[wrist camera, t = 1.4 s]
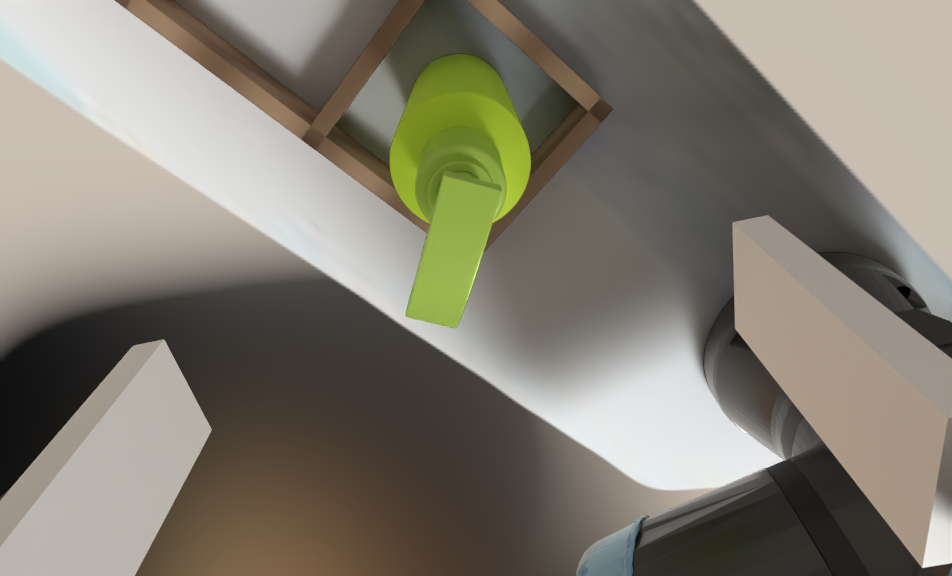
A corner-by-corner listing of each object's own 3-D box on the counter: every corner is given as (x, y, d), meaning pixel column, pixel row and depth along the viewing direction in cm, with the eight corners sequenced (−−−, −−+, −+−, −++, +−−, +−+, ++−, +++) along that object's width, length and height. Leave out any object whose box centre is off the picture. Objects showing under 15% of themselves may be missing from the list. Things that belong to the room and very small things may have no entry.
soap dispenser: (397, 155, 39) (345, 310, 21) (423, 40, 36) (390, 107, 18) (487, 180, 40) (512, 349, 22) (520, 70, 37) (581, 162, 19)
